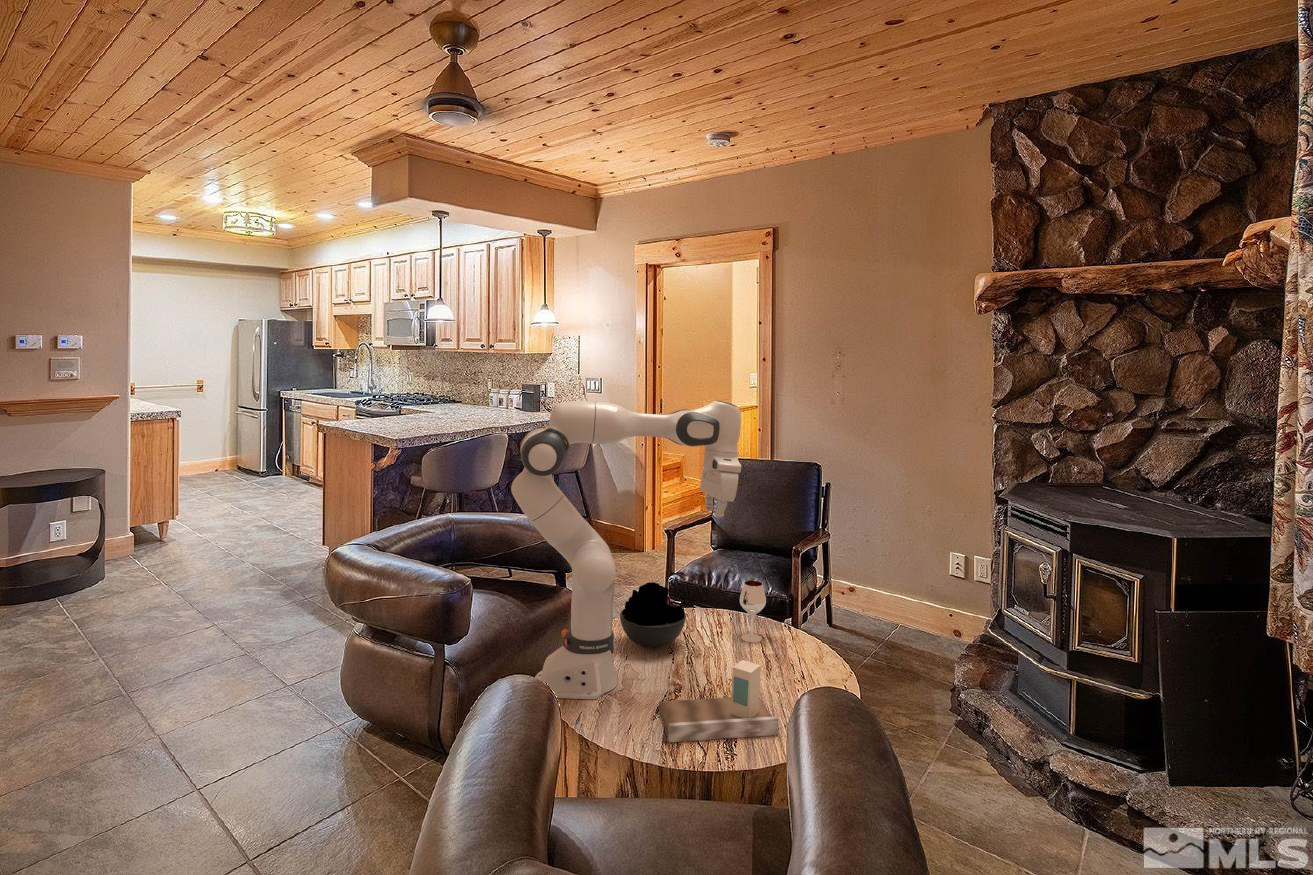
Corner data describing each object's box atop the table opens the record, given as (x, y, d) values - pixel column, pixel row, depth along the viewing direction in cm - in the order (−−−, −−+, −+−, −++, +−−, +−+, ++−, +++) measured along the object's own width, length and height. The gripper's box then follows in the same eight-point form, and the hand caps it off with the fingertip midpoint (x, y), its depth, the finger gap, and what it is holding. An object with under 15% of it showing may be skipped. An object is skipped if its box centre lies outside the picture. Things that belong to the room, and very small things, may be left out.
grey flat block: (669, 742, 160) (669, 726, 160) (658, 708, 176) (659, 693, 175) (778, 735, 164) (778, 719, 164) (758, 702, 180) (759, 688, 179)
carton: (741, 705, 174) (742, 659, 173) (758, 711, 171) (760, 665, 170) (730, 714, 170) (732, 667, 168) (748, 720, 167) (750, 673, 165)
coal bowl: (678, 631, 225) (680, 575, 222) (690, 658, 205) (692, 596, 203) (616, 633, 222) (617, 576, 220) (622, 661, 202) (623, 598, 200)
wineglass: (733, 637, 220) (734, 582, 218) (749, 631, 226) (751, 577, 224) (753, 646, 215) (755, 589, 212) (769, 638, 220) (771, 583, 218)
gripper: (698, 457, 195) (692, 506, 196) (720, 464, 175) (714, 518, 176) (719, 460, 197) (713, 508, 197) (744, 466, 177) (737, 520, 177)
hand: (714, 513), depth 186 cm, fingers open, 8 cm apart
